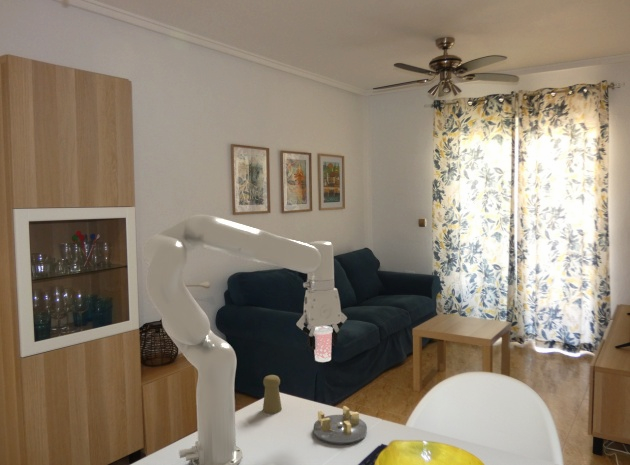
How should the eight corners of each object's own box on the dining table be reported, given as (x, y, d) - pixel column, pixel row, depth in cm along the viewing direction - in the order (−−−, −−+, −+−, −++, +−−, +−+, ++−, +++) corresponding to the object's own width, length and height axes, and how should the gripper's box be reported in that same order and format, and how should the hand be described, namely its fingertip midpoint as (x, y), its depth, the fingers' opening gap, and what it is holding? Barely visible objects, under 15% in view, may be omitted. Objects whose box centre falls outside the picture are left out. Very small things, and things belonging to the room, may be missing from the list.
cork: (270, 416, 155) (269, 381, 154) (258, 410, 159) (257, 376, 159) (285, 410, 159) (285, 376, 158) (273, 404, 164) (273, 371, 163)
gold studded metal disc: (376, 438, 140) (376, 422, 140) (326, 449, 134) (326, 432, 134) (351, 416, 154) (351, 401, 154) (305, 425, 148) (305, 410, 148)
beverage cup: (331, 363, 143) (330, 314, 141) (310, 362, 144) (309, 314, 142) (335, 356, 148) (333, 309, 147) (314, 355, 150) (313, 308, 148)
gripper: (297, 290, 137) (299, 355, 139) (354, 283, 144) (355, 345, 146) (287, 285, 144) (290, 347, 146) (342, 279, 151) (343, 338, 153)
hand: (322, 346), depth 146 cm, fingers closed on beverage cup, 6 cm apart
